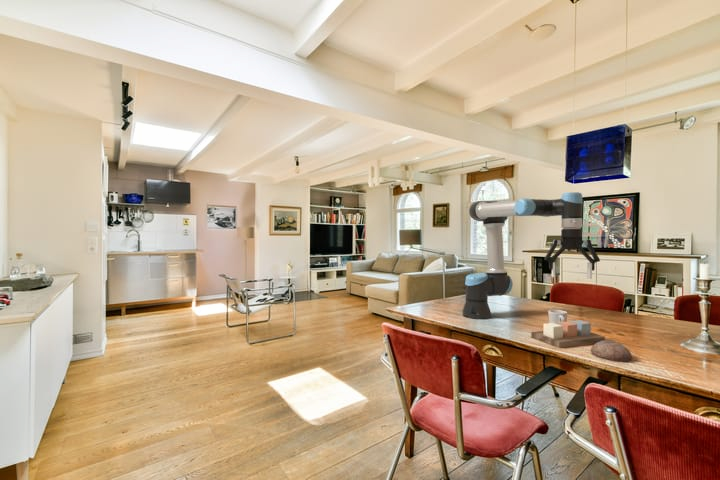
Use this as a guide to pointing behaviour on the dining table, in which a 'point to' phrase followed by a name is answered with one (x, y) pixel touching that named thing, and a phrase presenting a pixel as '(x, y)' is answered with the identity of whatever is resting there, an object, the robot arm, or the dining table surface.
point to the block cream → (553, 330)
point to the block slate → (582, 327)
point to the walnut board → (568, 339)
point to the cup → (557, 316)
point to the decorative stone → (611, 351)
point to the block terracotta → (568, 328)
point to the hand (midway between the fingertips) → (571, 277)
